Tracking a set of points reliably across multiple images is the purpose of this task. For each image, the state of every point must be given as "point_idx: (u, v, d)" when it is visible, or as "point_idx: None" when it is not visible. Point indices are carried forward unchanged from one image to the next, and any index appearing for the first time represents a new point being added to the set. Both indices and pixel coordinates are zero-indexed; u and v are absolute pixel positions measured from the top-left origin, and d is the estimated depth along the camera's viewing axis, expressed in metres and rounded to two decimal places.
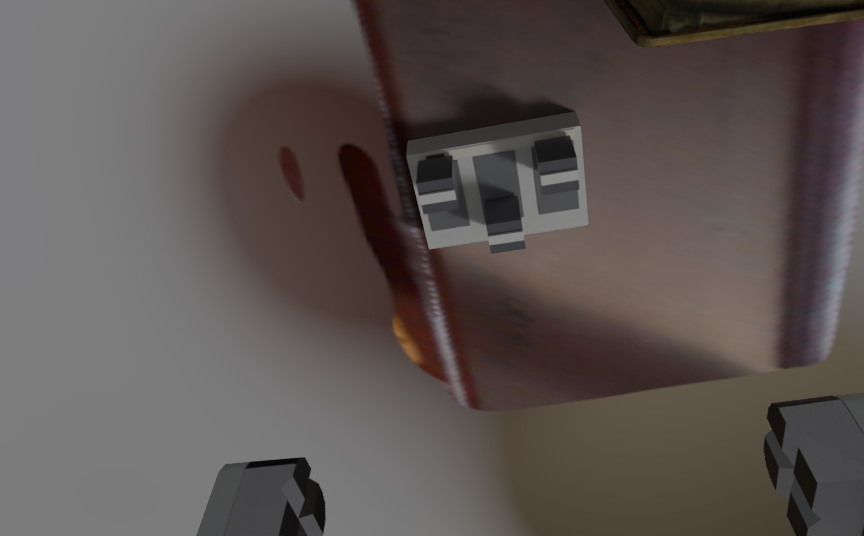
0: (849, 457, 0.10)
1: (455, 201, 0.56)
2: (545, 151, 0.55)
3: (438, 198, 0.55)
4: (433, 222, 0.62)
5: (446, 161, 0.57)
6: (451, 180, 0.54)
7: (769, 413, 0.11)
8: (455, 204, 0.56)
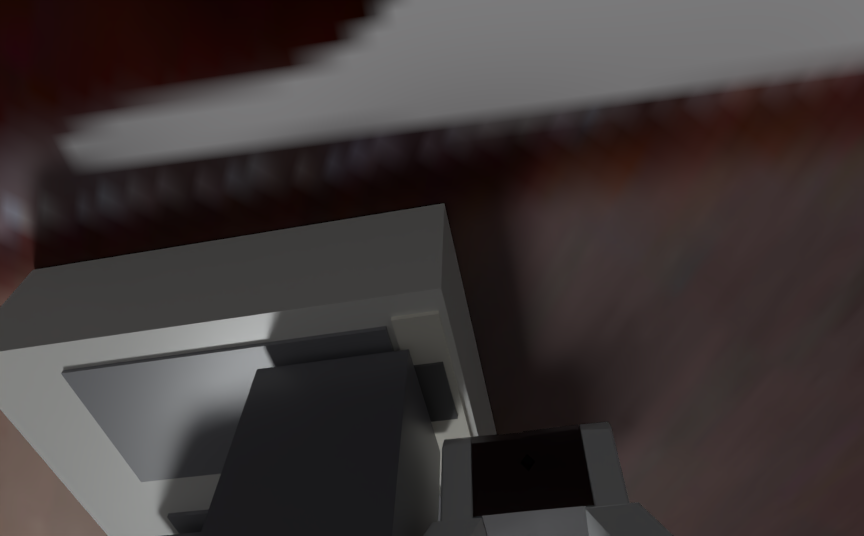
0: (566, 485, 0.10)
1: None
2: None
3: None
4: (109, 379, 0.14)
5: (434, 473, 0.13)
6: None
7: None
8: None
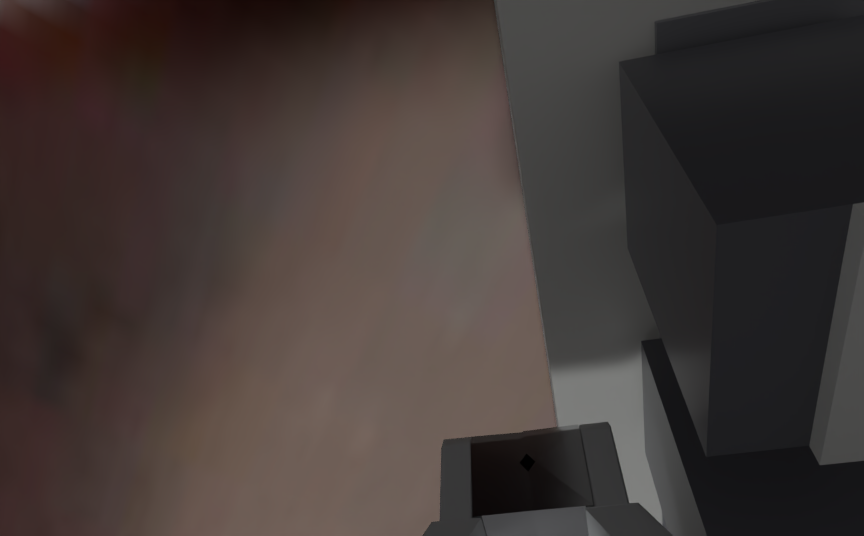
0: (566, 486, 0.10)
1: (779, 440, 0.07)
2: None
3: None
4: (727, 35, 0.09)
5: None
6: None
7: None
8: (752, 441, 0.07)
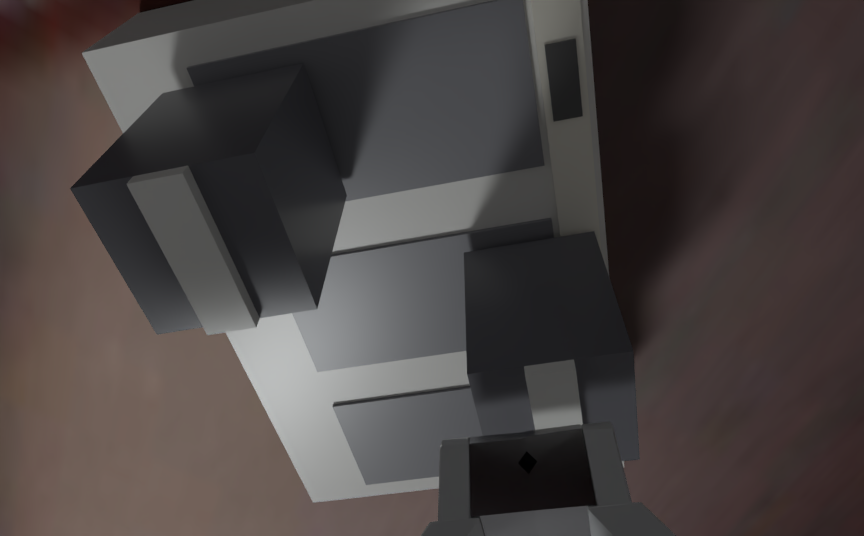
0: (568, 485, 0.10)
1: (192, 322, 0.12)
2: None
3: (191, 264, 0.11)
4: (234, 75, 0.14)
5: (333, 195, 0.14)
6: (300, 306, 0.11)
7: None
8: (176, 322, 0.12)
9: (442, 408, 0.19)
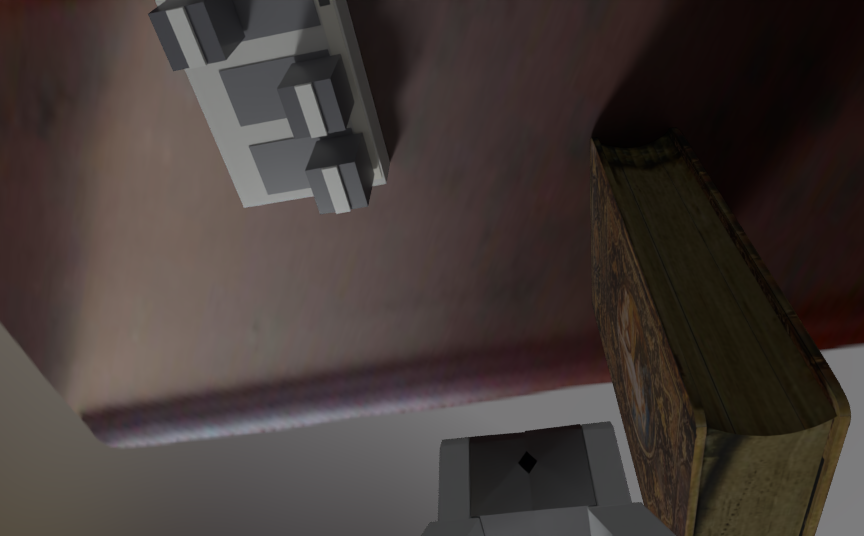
0: (568, 485, 0.10)
1: (185, 66, 0.35)
2: (361, 159, 0.40)
3: (184, 40, 0.34)
4: None
5: (237, 32, 0.37)
6: (220, 59, 0.35)
7: None
8: (179, 66, 0.35)
9: (298, 148, 0.43)
